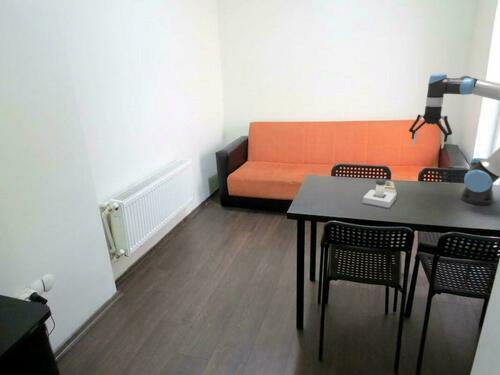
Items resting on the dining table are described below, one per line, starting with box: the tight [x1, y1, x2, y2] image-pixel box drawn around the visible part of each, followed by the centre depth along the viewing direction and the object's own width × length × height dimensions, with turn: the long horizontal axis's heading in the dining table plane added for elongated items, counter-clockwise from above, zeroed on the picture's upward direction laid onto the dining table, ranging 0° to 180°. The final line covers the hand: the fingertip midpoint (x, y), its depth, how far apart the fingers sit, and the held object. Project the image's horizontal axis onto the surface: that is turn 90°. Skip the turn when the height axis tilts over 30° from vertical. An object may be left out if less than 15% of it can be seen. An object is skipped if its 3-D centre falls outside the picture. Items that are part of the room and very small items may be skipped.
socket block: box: [362, 189, 397, 209], centre depth 193 cm, size 14×14×4 cm
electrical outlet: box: [384, 180, 398, 198], centre depth 206 cm, size 7×4×18 cm
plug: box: [375, 178, 387, 198], centre depth 191 cm, size 5×5×12 cm
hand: (427, 146), depth 185 cm, fingers open, 13 cm apart
